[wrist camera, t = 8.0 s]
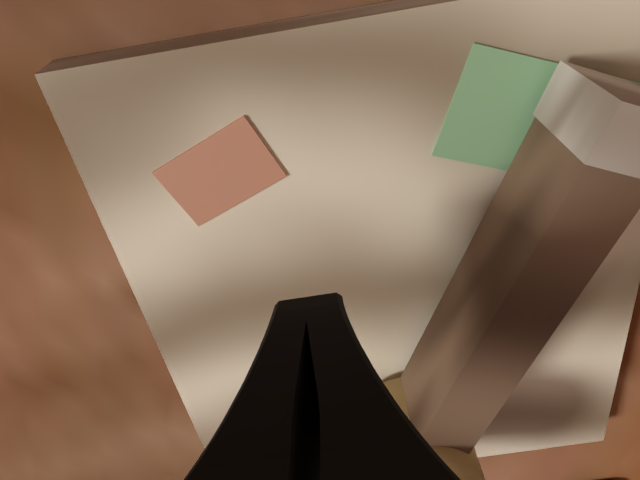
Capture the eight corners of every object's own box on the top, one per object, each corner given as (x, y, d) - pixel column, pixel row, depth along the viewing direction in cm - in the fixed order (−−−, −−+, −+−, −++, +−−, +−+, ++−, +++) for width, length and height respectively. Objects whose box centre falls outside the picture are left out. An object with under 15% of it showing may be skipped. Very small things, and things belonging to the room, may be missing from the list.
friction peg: (434, 452, 21) (470, 589, 17) (339, 439, 21) (351, 579, 16) (665, 91, 13) (832, 185, 9) (523, 49, 13) (636, 130, 9)
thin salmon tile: (244, 115, 14) (243, 116, 14) (286, 174, 15) (286, 176, 15) (152, 171, 14) (151, 173, 14) (198, 224, 15) (198, 226, 15)
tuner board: (590, 416, 23) (603, 440, 22) (226, 466, 24) (223, 491, 23) (681, -51, 13) (713, -45, 12) (52, 60, 14) (34, 74, 13)
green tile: (653, 85, 14) (655, 87, 14) (594, 187, 15) (596, 188, 15) (473, 42, 13) (474, 43, 13) (431, 154, 15) (432, 155, 14)
